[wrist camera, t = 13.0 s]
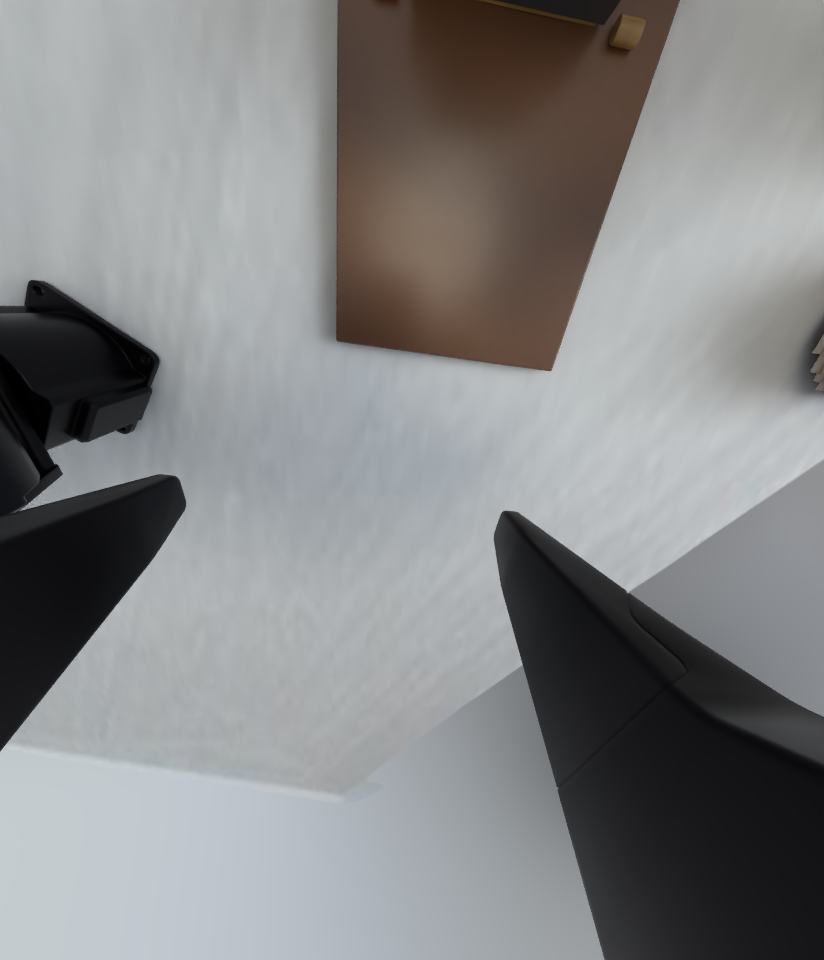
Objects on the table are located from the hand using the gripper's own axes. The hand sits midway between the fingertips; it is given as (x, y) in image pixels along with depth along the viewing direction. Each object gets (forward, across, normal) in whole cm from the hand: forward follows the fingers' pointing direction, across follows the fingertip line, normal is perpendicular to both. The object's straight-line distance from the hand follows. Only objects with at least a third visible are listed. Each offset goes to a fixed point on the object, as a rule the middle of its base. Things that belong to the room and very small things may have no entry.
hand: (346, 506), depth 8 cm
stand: (+13, -4, -11) cm, 18 cm away
